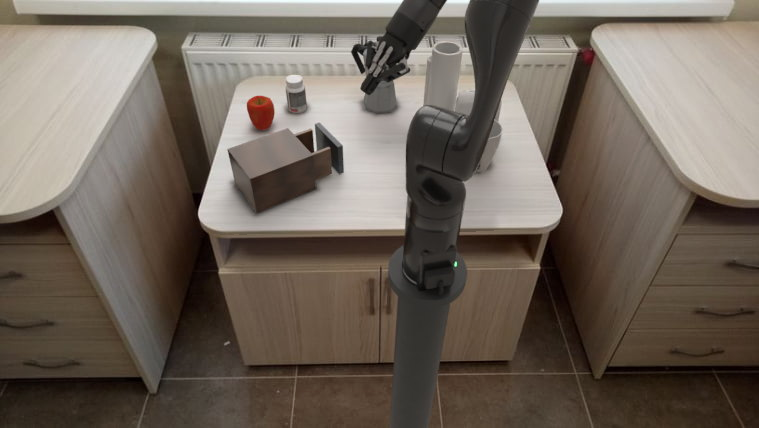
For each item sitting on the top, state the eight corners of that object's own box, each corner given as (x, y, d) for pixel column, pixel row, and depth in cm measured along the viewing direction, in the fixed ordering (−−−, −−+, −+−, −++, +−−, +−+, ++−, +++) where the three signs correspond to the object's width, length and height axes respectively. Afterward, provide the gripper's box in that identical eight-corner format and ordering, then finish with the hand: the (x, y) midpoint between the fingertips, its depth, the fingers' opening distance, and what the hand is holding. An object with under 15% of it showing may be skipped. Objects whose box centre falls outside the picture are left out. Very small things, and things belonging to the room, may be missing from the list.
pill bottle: (310, 108, 136) (308, 78, 130) (296, 115, 134) (293, 85, 128) (298, 101, 139) (295, 71, 133) (284, 108, 136) (280, 78, 130)
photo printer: (451, 140, 127) (457, 94, 119) (451, 129, 130) (457, 84, 122) (495, 143, 127) (504, 97, 118) (494, 132, 130) (503, 87, 121)
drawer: (326, 147, 123) (324, 120, 118) (348, 170, 117) (347, 143, 112) (271, 168, 118) (266, 140, 113) (292, 193, 112) (288, 166, 107)
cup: (451, 159, 122) (456, 122, 115) (481, 149, 125) (487, 112, 118) (471, 180, 117) (478, 142, 110) (502, 169, 120) (510, 132, 113)
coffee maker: (410, 104, 138) (414, 38, 125) (391, 120, 133) (394, 53, 120) (362, 86, 144) (362, 21, 131) (343, 101, 139) (340, 34, 126)
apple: (281, 124, 131) (278, 97, 126) (265, 137, 127) (260, 109, 122) (262, 116, 133) (257, 89, 128) (244, 128, 130) (239, 101, 124)
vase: (454, 132, 130) (465, 55, 116) (424, 132, 130) (431, 55, 116) (449, 106, 138) (458, 31, 124) (421, 105, 138) (427, 30, 124)
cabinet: (292, 161, 121) (287, 127, 115) (316, 189, 114) (313, 155, 108) (234, 183, 115) (227, 149, 109) (256, 213, 109) (249, 179, 102)
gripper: (382, -1, 110) (336, 71, 114) (423, 23, 103) (371, 100, 107) (403, 17, 116) (358, 85, 120) (442, 41, 109) (393, 113, 113)
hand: (364, 92), depth 114 cm, fingers closed
